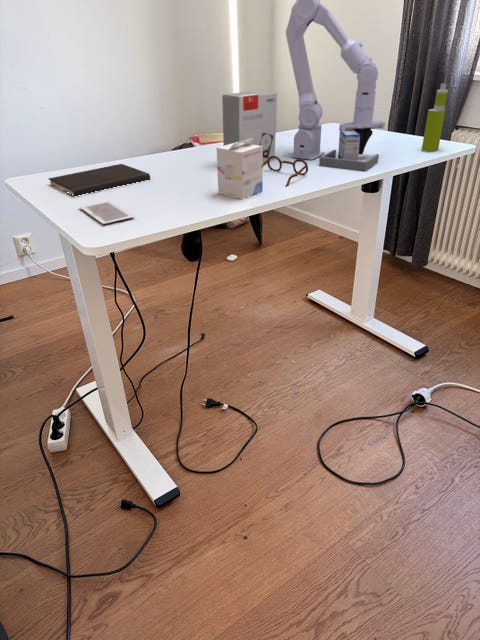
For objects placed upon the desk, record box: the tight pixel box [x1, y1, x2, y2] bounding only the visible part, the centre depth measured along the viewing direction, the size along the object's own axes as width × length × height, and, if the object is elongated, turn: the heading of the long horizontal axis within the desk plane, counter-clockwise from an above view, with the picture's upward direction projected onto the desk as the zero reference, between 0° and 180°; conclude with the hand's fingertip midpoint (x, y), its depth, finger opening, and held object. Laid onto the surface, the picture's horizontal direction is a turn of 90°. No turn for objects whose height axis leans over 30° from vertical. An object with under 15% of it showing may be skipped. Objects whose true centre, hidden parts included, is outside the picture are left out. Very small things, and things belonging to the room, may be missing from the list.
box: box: [318, 149, 380, 172], centre depth 149 cm, size 11×15×2 cm
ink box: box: [216, 138, 264, 200], centre depth 123 cm, size 9×8×13 cm
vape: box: [421, 83, 449, 153], centre depth 158 cm, size 4×6×20 cm, turn 126°
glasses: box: [263, 155, 309, 188], centre depth 137 cm, size 13×13×5 cm
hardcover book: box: [48, 163, 151, 197], centre depth 137 cm, size 16×23×2 cm
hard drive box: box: [221, 90, 278, 163], centre depth 149 cm, size 16×8×20 cm, turn 129°
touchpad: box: [78, 199, 136, 225], centre depth 114 cm, size 8×15×2 cm, turn 36°
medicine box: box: [337, 130, 360, 161], centre depth 150 cm, size 8×4×9 cm, turn 4°
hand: (359, 153), depth 155 cm, fingers closed
